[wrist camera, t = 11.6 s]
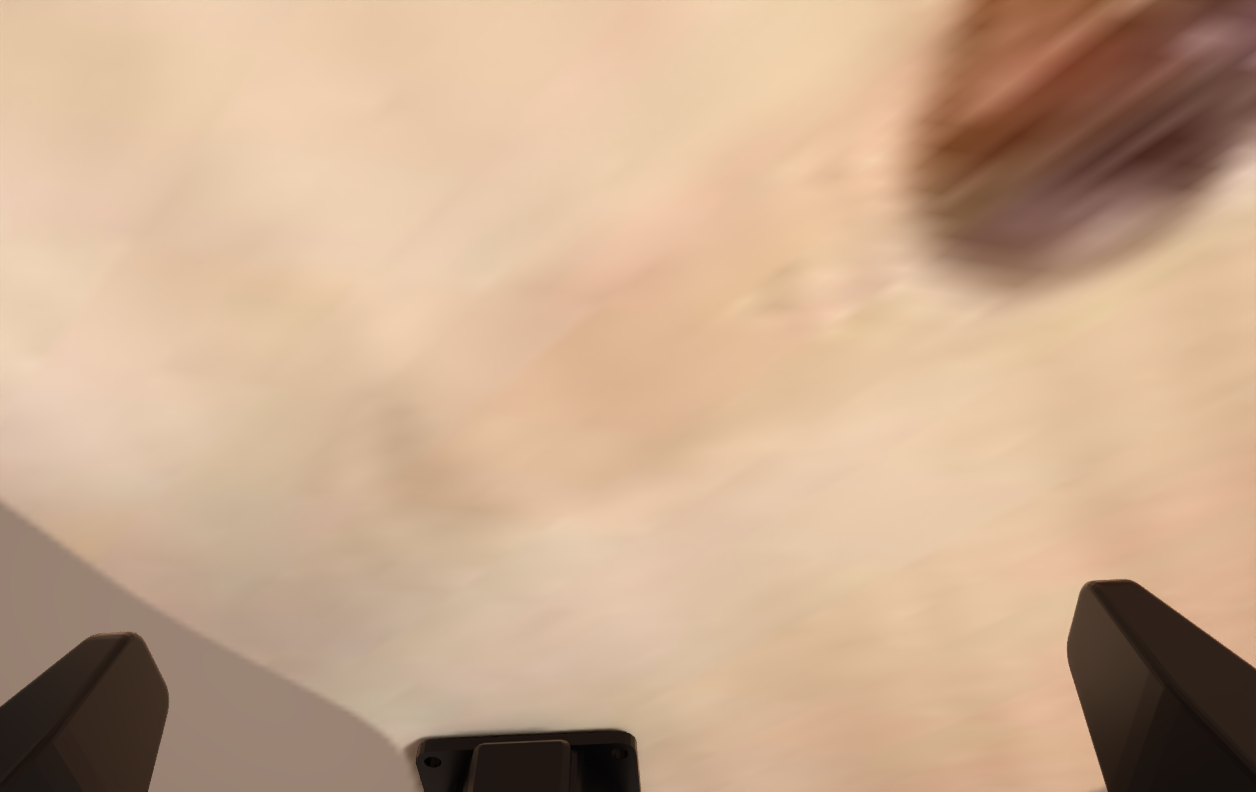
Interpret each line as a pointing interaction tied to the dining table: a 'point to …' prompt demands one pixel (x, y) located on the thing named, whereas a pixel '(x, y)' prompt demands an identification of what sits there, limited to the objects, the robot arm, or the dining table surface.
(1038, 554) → the dining table surface
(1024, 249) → the dining table surface
